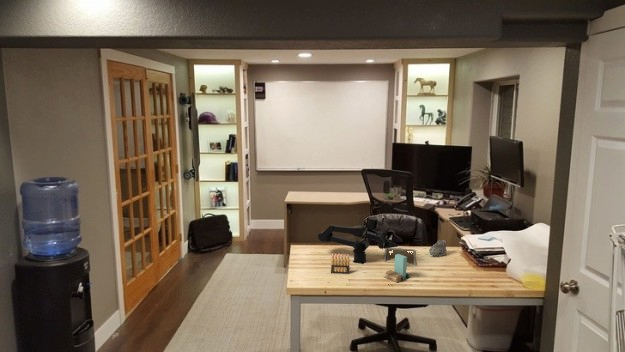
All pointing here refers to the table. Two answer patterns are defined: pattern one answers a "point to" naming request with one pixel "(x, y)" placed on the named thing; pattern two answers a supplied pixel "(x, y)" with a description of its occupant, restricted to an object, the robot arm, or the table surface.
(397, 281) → the offcut bottom
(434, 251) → the mineral rock
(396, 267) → the teal rectangular block
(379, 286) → the table surface
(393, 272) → the offcut top
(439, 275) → the table surface
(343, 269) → the ammunition clip
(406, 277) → the rack
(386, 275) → the offcut middle
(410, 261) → the picture frame
